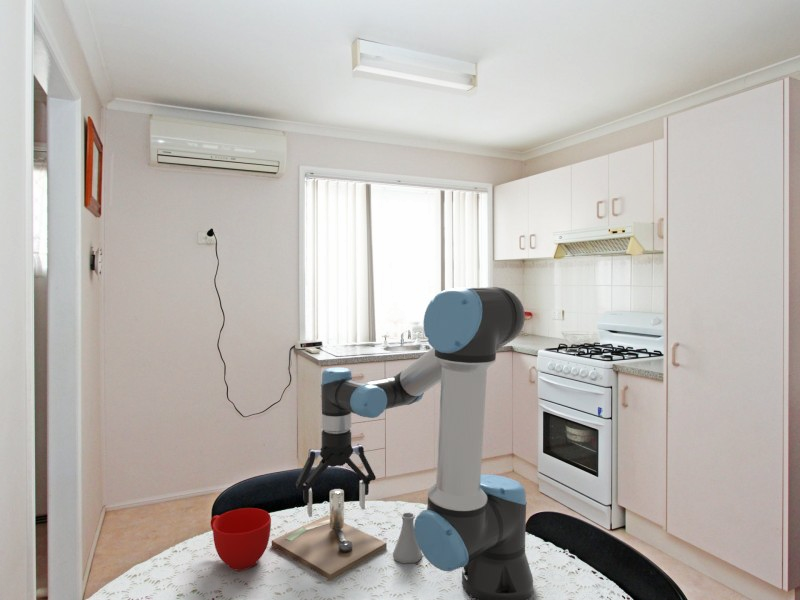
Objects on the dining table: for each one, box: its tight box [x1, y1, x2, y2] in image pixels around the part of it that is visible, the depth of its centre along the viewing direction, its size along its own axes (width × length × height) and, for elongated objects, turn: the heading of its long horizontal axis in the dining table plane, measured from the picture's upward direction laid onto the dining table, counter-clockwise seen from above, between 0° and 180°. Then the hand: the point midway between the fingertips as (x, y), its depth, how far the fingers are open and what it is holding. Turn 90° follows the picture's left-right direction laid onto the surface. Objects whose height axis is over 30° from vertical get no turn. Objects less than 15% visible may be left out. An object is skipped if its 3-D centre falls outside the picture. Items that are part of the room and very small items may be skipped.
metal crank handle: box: [329, 488, 352, 552], centre depth 130 cm, size 16×4×10 cm, turn 19°
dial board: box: [271, 515, 387, 582], centre depth 128 cm, size 22×18×2 cm
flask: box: [392, 511, 424, 564], centre depth 124 cm, size 7×7×10 cm
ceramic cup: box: [210, 507, 272, 571], centre depth 122 cm, size 13×17×10 cm
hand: (336, 510), depth 133 cm, fingers open, 13 cm apart
